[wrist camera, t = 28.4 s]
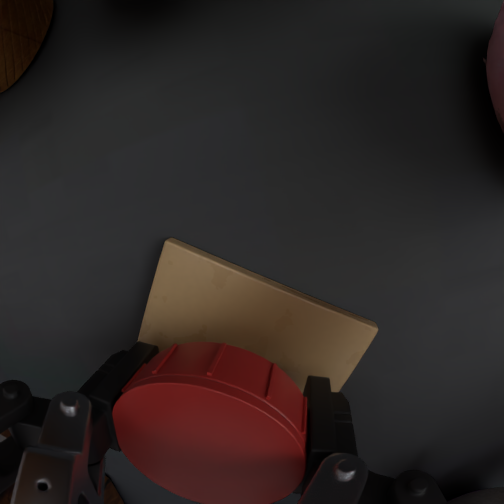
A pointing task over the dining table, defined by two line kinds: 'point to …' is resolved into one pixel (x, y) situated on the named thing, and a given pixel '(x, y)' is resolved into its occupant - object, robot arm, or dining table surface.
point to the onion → (497, 67)
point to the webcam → (481, 497)
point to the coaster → (251, 316)
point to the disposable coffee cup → (21, 35)
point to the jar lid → (215, 425)
